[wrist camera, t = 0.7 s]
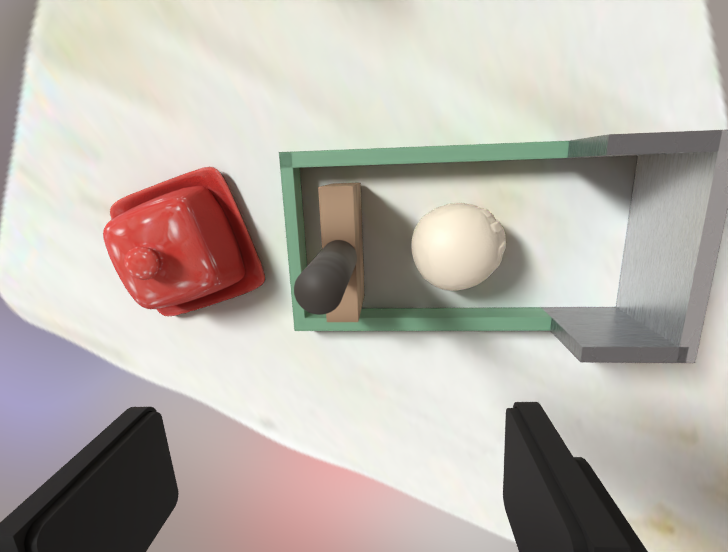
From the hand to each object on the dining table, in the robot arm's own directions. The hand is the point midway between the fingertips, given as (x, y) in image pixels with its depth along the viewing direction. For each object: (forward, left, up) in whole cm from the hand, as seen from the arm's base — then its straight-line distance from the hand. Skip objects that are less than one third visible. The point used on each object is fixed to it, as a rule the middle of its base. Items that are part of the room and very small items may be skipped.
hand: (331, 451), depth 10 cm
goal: (-1, +19, -25) cm, 32 cm away
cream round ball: (-1, +7, -26) cm, 27 cm away
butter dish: (-1, -17, -26) cm, 31 cm away
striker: (-1, -2, -25) cm, 25 cm away
